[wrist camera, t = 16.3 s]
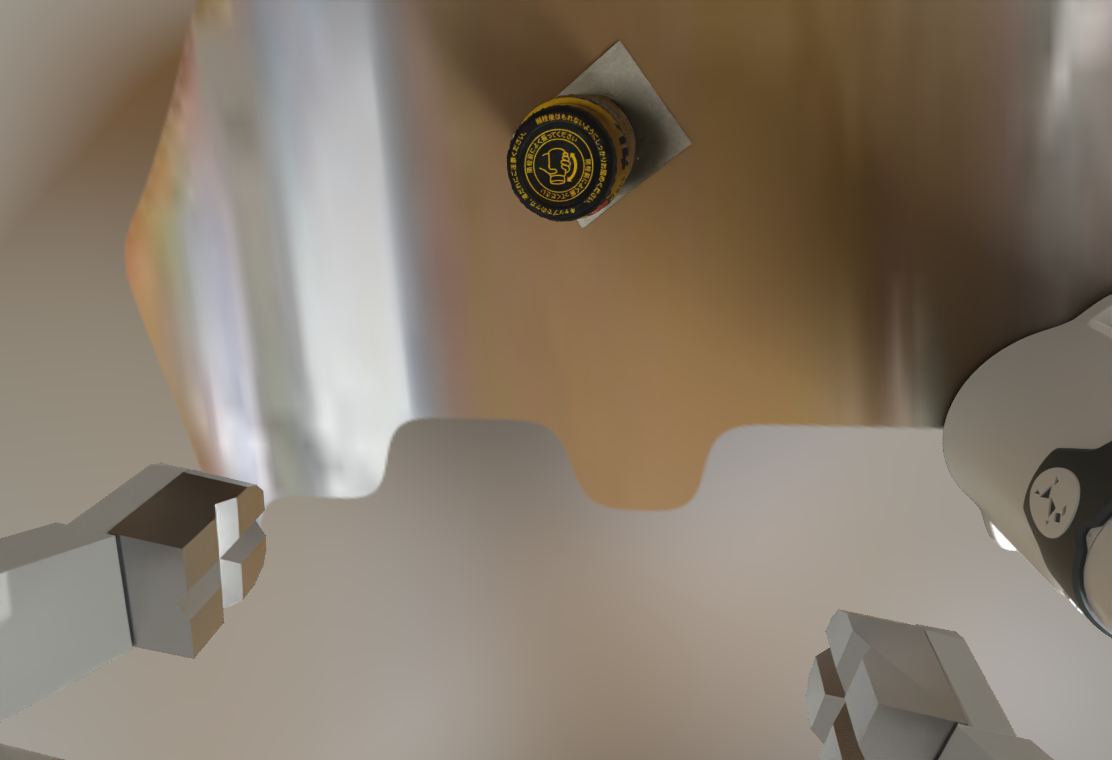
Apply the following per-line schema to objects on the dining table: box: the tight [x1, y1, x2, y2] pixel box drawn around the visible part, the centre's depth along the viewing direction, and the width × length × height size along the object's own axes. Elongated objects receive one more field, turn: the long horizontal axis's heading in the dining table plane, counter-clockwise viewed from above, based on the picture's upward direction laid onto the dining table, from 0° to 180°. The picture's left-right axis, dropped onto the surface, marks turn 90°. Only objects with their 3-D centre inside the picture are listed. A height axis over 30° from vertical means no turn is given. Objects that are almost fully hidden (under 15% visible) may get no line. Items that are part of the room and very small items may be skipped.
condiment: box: [507, 40, 692, 228], centre depth 37 cm, size 7×8×12 cm
